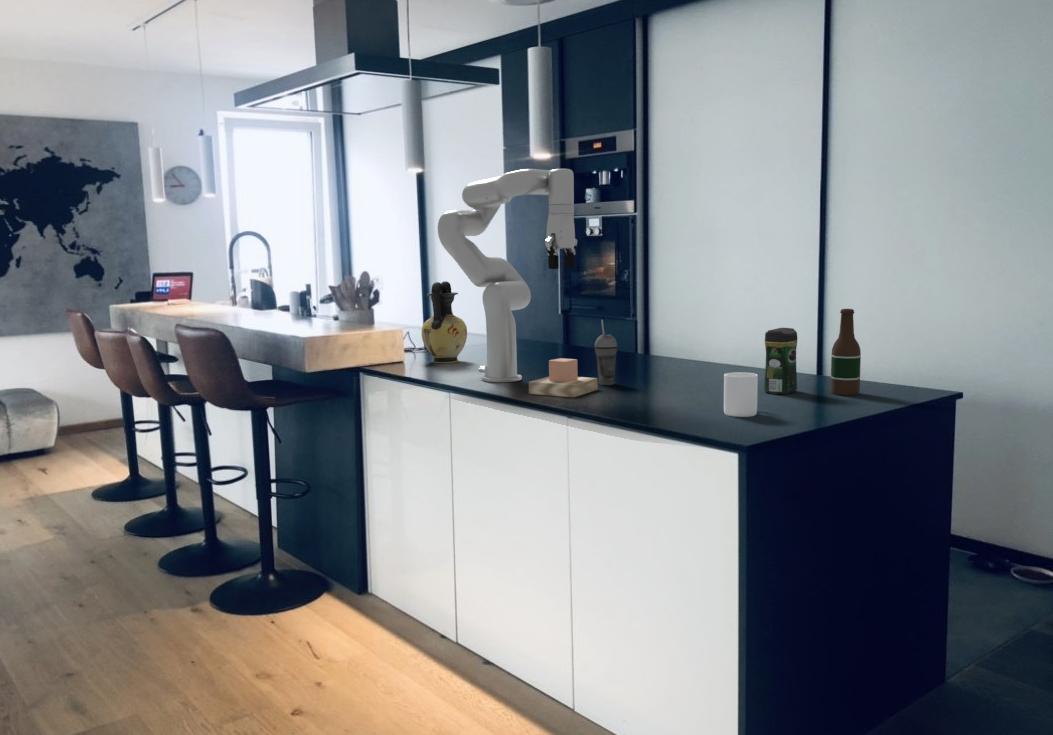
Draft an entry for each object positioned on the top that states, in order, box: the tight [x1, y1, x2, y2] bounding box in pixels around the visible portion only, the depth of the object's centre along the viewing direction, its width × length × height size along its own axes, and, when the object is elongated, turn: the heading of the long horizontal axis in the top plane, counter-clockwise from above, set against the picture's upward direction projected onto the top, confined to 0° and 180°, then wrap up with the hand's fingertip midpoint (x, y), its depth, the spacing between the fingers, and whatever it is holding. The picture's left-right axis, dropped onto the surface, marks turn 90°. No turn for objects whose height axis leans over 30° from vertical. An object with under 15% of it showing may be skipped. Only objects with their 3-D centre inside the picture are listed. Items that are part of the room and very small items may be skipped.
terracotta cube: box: [548, 357, 579, 382], centre depth 274 cm, size 6×6×6 cm
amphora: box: [421, 281, 468, 364], centre depth 344 cm, size 18×17×30 cm
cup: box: [723, 371, 759, 418], centre depth 236 cm, size 8×12×10 cm
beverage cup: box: [593, 319, 618, 386], centre depth 286 cm, size 7×7×20 cm
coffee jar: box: [763, 327, 798, 395], centre depth 265 cm, size 10×8×19 cm
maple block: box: [528, 376, 599, 398], centre depth 275 cm, size 15×15×4 cm
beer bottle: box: [830, 308, 862, 397], centre depth 260 cm, size 8×8×24 cm
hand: (561, 268), depth 280 cm, fingers open, 9 cm apart
